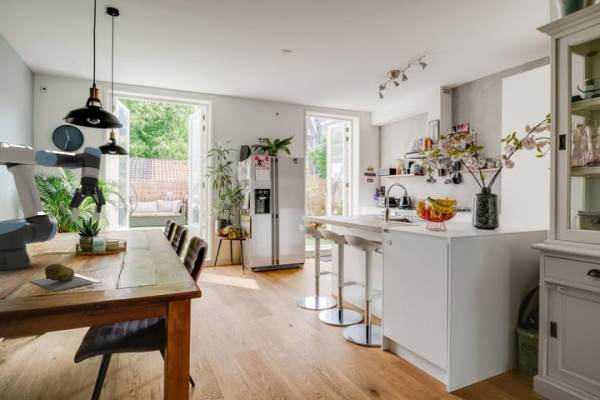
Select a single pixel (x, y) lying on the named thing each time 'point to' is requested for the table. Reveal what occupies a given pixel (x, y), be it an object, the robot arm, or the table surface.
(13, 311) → the table surface
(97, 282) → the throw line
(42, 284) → the mat
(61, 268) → the potato
